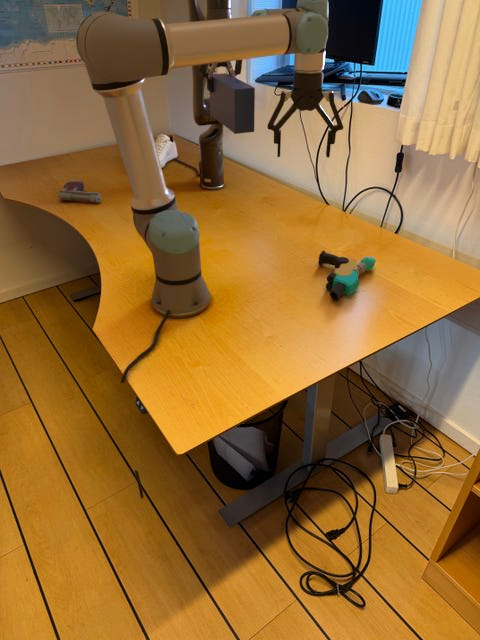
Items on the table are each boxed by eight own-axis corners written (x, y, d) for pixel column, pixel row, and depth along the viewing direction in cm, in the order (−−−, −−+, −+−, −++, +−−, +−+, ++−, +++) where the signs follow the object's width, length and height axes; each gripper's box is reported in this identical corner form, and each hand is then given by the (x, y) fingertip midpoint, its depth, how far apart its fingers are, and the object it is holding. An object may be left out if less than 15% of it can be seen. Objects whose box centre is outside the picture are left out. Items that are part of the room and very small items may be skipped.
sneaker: (133, 173, 208) (129, 144, 201) (161, 153, 230) (158, 127, 223) (155, 175, 205) (151, 146, 198) (180, 155, 227) (178, 129, 220)
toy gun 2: (295, 281, 124) (351, 295, 119) (328, 242, 143) (378, 253, 137) (294, 295, 127) (349, 310, 121) (327, 255, 145) (375, 266, 140)
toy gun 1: (114, 191, 191) (98, 206, 179) (71, 188, 194) (53, 202, 182) (113, 181, 188) (96, 196, 177) (69, 179, 192) (50, 192, 180)
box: (254, 131, 135) (254, 87, 128) (234, 134, 134) (234, 89, 127) (227, 112, 153) (226, 73, 146) (210, 114, 152) (208, 74, 145)
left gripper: (356, 68, 122) (346, 152, 135) (260, 68, 124) (259, 151, 136) (360, 73, 116) (349, 160, 129) (258, 73, 118) (257, 159, 130)
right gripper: (238, 24, 141) (238, 87, 151) (191, 27, 137) (195, 90, 147) (247, 27, 135) (247, 91, 145) (198, 29, 131) (202, 95, 141)
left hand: (303, 155), depth 133 cm, fingers open, 13 cm apart
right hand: (221, 90), depth 146 cm, fingers closed on box, 6 cm apart
